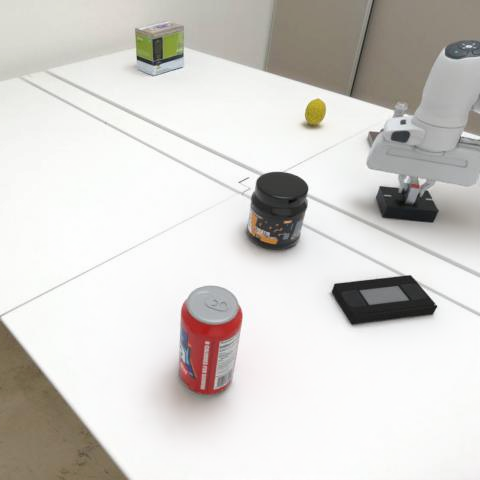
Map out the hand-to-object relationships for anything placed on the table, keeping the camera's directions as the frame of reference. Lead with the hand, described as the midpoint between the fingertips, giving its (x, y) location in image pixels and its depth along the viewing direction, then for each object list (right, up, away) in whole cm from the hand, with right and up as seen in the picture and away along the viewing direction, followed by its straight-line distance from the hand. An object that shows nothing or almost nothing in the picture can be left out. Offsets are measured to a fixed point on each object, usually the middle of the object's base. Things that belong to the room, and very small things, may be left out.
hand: (409, 193), depth 96 cm
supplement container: (-30, -9, -4) cm, 32 cm away
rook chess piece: (+13, +21, +32) cm, 41 cm away
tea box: (-53, +54, +74) cm, 106 cm away
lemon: (-9, +23, +36) cm, 43 cm away
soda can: (-46, -29, -30) cm, 62 cm away
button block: (+8, +15, +25) cm, 30 cm away
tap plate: (0, -3, +3) cm, 4 cm away
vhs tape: (-15, -21, -19) cm, 32 cm away
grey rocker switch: (0, -1, +1) cm, 1 cm away
